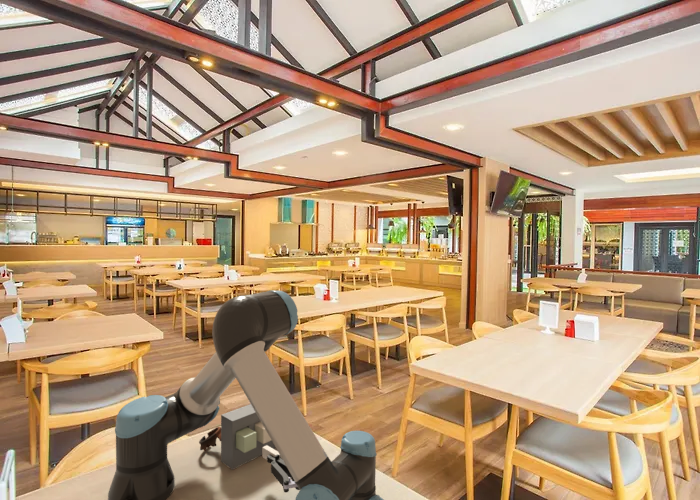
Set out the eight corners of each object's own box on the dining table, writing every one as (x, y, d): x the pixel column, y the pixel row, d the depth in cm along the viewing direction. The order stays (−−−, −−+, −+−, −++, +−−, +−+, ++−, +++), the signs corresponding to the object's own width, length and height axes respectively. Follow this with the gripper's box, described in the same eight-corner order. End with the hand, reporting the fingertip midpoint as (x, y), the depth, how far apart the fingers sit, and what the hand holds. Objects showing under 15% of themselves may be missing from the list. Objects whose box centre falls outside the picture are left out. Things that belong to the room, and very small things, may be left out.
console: (232, 469, 111) (232, 421, 111) (221, 461, 115) (221, 414, 115) (285, 443, 126) (286, 400, 126) (274, 436, 130) (274, 395, 130)
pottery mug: (221, 465, 114) (207, 441, 114) (203, 469, 119) (190, 446, 119) (248, 437, 124) (235, 415, 124) (231, 442, 129) (218, 421, 129)
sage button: (244, 452, 110) (244, 437, 109) (234, 446, 113) (234, 431, 113) (256, 447, 113) (256, 432, 112) (246, 441, 116) (246, 426, 116)
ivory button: (263, 443, 114) (263, 429, 114) (253, 438, 118) (253, 423, 118) (274, 438, 117) (274, 424, 117) (264, 433, 121) (264, 419, 121)
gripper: (305, 518, 86) (244, 475, 102) (344, 490, 96) (283, 454, 112) (305, 485, 86) (244, 446, 102) (344, 460, 96) (283, 428, 112)
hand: (264, 451), depth 107 cm, fingers closed
